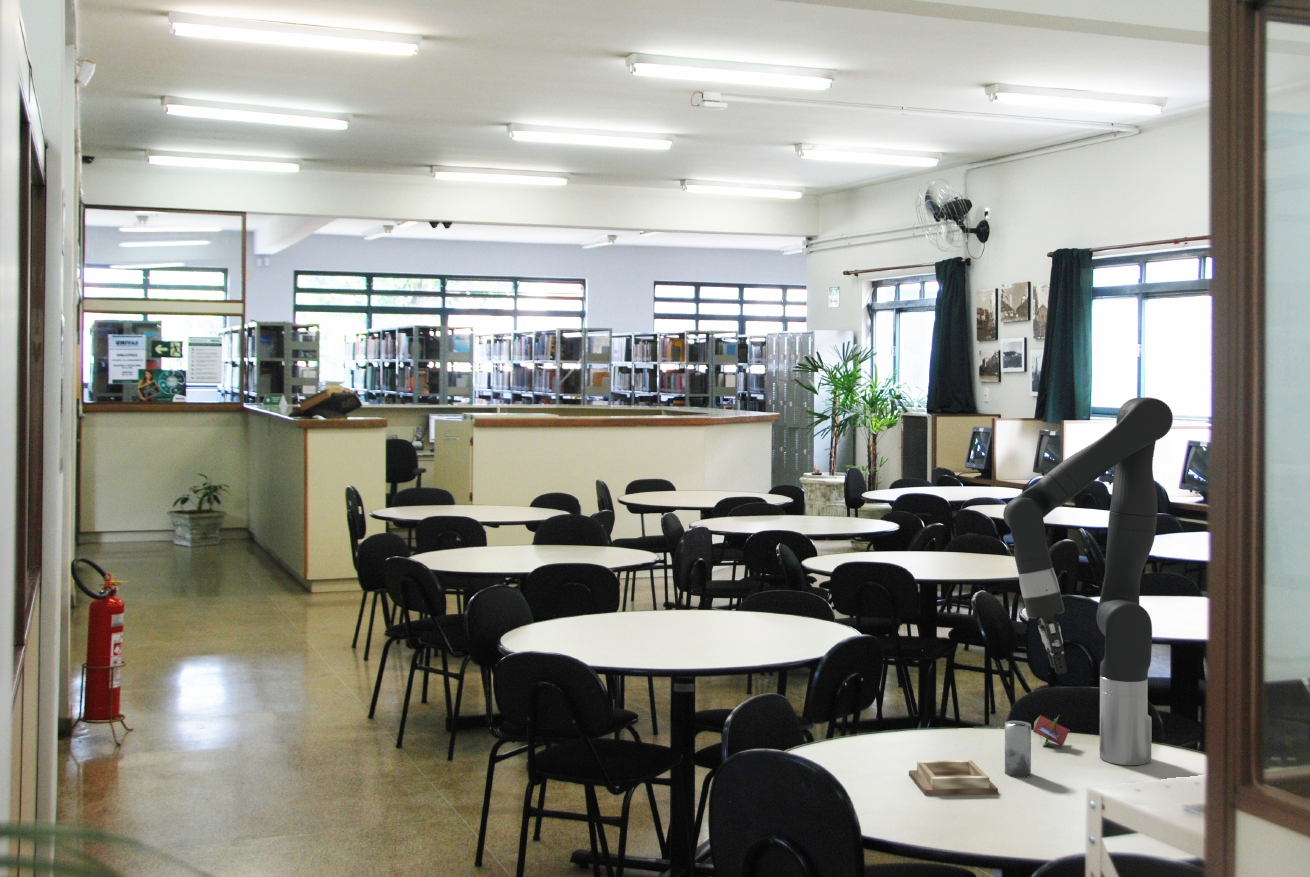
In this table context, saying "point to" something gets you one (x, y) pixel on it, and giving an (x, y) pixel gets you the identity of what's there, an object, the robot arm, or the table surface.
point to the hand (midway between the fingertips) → (1059, 670)
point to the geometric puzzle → (1050, 730)
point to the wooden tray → (951, 778)
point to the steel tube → (1018, 749)
